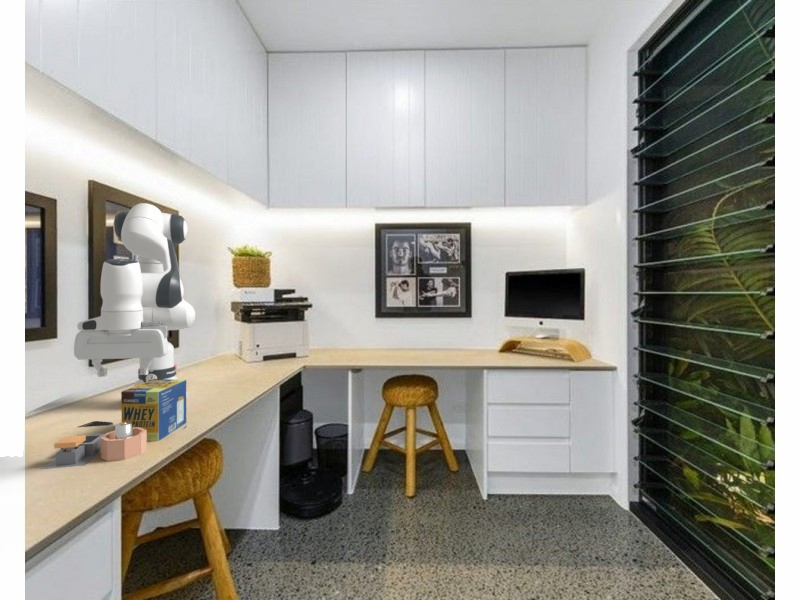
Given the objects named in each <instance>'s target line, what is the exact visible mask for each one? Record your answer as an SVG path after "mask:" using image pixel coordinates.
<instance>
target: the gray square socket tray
mask: <svg viewBox="0 0 800 600" xmlns="http://www.w3.org/2000/svg"><path fill="white" fill-rule="evenodd" d="M105 434H106V433H94V434H83V435H81V434H80V435H76V436H84V435H86V440H85V441H84V442H82V443H81V444H79V445H78V446H77V447H75V450H74V451H66V448H60V450H59V451H57V452H56V453H55V458H54V459H52V461H50V462H49V463H47V464H45V465H44V466H43V467H41V468H40V470H47V469H58V468H70V467H82V466H84V467H85V466H86V465H88V464H89V463H90V462H91V461H92V460H94V459H95V458H96V457H97V456H98V455H101V445H100V438H101V437H102V436H104V435H105Z"/></svg>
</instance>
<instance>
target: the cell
mask: <svg viewBox="0 0 800 600" xmlns="http://www.w3.org/2000/svg"><path fill="white" fill-rule="evenodd" d="M114 427H115V428H114V429H115V430H114V431H115V439H125V438H129V437H132V422H122V421H121V422H118V423H117V424H115V425H114Z"/></svg>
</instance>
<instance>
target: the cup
mask: <svg viewBox="0 0 800 600" xmlns="http://www.w3.org/2000/svg"><path fill="white" fill-rule="evenodd" d="M104 434H105V435H104V436H102V437H101V438H100V445H101V453H100V458H101V459H103V460H104V461H106V462H113V461H114V462H115V461H125V460H127V459H131V458H133V457H137V456H140V455H142V454H143V453H144V452H145V451H146V450H147V449H148V446H147V445H148V444H147V443H148V441H147V430H146V429H143V428H140V427H134V428H132V437H129V438H125V439H115V430H112V431H108V432H106V433H104Z"/></svg>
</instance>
